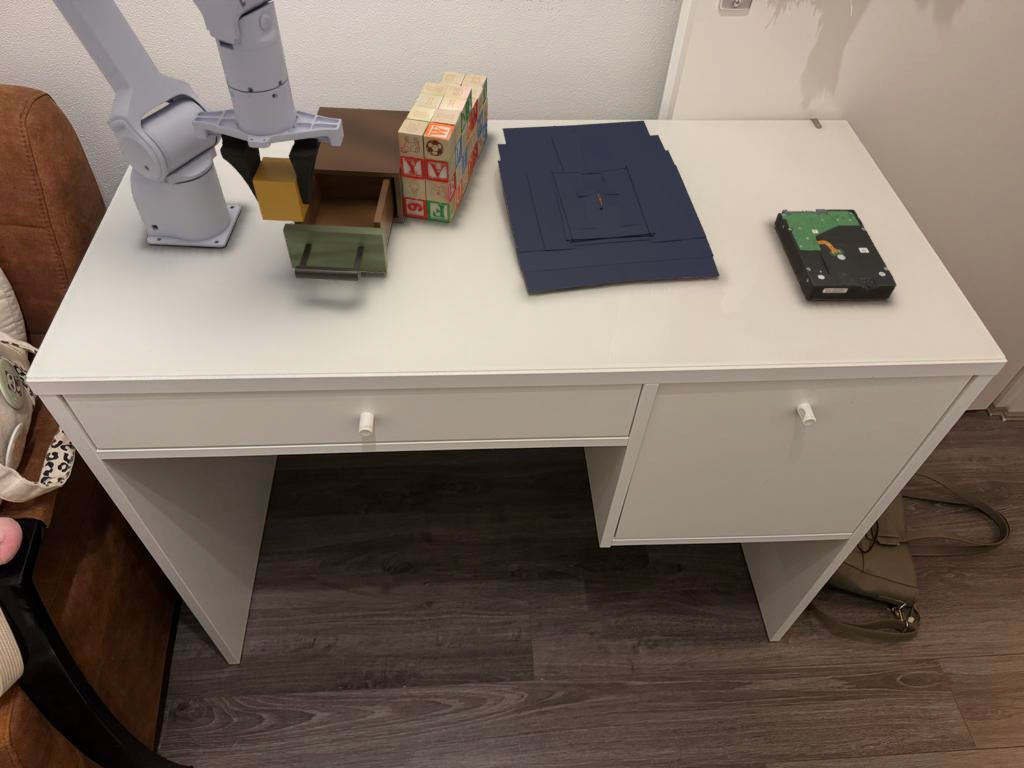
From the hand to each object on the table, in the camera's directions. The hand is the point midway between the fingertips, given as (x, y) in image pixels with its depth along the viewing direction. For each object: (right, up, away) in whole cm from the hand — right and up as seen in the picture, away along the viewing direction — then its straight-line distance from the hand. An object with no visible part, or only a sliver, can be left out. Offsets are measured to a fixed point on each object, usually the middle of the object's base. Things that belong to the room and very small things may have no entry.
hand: (284, 197), depth 82 cm
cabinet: (+5, +6, +19) cm, 21 cm away
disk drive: (+65, -5, +13) cm, 66 cm away
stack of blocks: (+16, +9, +22) cm, 29 cm away
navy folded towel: (+36, +2, +18) cm, 40 cm away
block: (0, -1, +1) cm, 1 cm away
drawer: (+4, -4, +10) cm, 11 cm away
